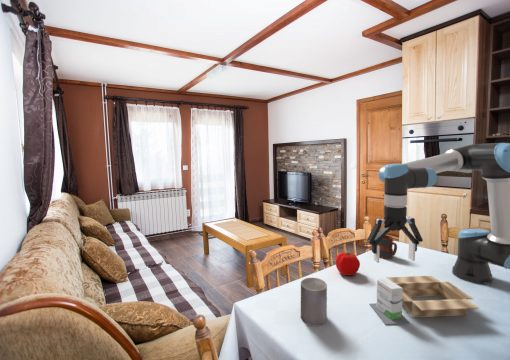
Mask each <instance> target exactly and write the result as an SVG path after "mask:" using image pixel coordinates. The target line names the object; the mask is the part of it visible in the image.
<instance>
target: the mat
mask: <svg viewBox="0 0 510 360" xmlns="http://www.w3.org/2000/svg"><path fill="white" fill-rule="evenodd" d="M368 305H369V306H370V307H371V309H372V311H374V313H375V314H376V315H377V317H379V318H380V320H381V322H382V323H383V324H384V325H385V326H391V325H392V326H395V325H396V326H397V325H399V326H400V325H411V322H410V321H409V320H408V319H407V318H406V316H404V315H403V314H402V318H399V319H394V320H391V319H390V318H389V317H388V316H386V315H385V314H384V313H383V312H381V311H380V310H379V309H377V302H376V303H374V302H373V303H369V304H368Z"/></svg>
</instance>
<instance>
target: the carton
mask: <svg viewBox="0 0 510 360" xmlns="http://www.w3.org/2000/svg"><path fill="white" fill-rule="evenodd" d="M386 278H388V279H389V280H391V281H392V282H394V283H395V284H397V285H398V286H400V287H402V288H403V294H402V309H404V310H405V311H406V312H407V313H408V315H410V317H412V318H427V317H429V318H430V317H445V316H446V317H450V316H467V313H468V310H470V309H471V310H474V309H475V310H476V309H480V307H479V306H478V305H476V304H474V303H473V302H472V301H471V300H474V297H472V296H471V295H469V294H467V293H466V292H464V291H463V290H461V289H460V288H459V287H457V286H455V285H454V284H452V283H451V282H449V281H440V280H439V279H437V278H436V277H435V276H433V275H420V276H419V275H417V276H416V275H415V276H413V275H412V276H391V277H390V276H388V277H385V279H386ZM431 296H432V297H434V296H438V297H440V298H441V299H430V300H429V299H428V300H427V299H426V300H424V299H423V300H414V299H412V297H431Z"/></svg>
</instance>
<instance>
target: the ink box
mask: <svg viewBox="0 0 510 360" xmlns="http://www.w3.org/2000/svg"><path fill="white" fill-rule="evenodd" d="M402 294H403V288H402V287H400V286H398V285H397V284H395V283H394V282H392V281H391V280H389V279H388V278H386V277H385V278H379V279H377V280H376V303H377V309H379V310H380V311H381V312H383V313H384V314H385V315H386V316H388V317H389V318H390V319H391V320H394V319H399V318H402V315H403V307H402Z"/></svg>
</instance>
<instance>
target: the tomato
mask: <svg viewBox="0 0 510 360" xmlns="http://www.w3.org/2000/svg"><path fill="white" fill-rule="evenodd" d="M360 265H361V262H360V260H359V259H358V257H357V255H356V254H354V253H352V251H351V252H340V253H339V254H337V255H336V257H335V267H336V269H337V271H338V272H339V273H340V275H341V274H342V275H344V276H354V275H355V274H356V273H357V272H358V271H359V269H360V267H361V266H360Z"/></svg>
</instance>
